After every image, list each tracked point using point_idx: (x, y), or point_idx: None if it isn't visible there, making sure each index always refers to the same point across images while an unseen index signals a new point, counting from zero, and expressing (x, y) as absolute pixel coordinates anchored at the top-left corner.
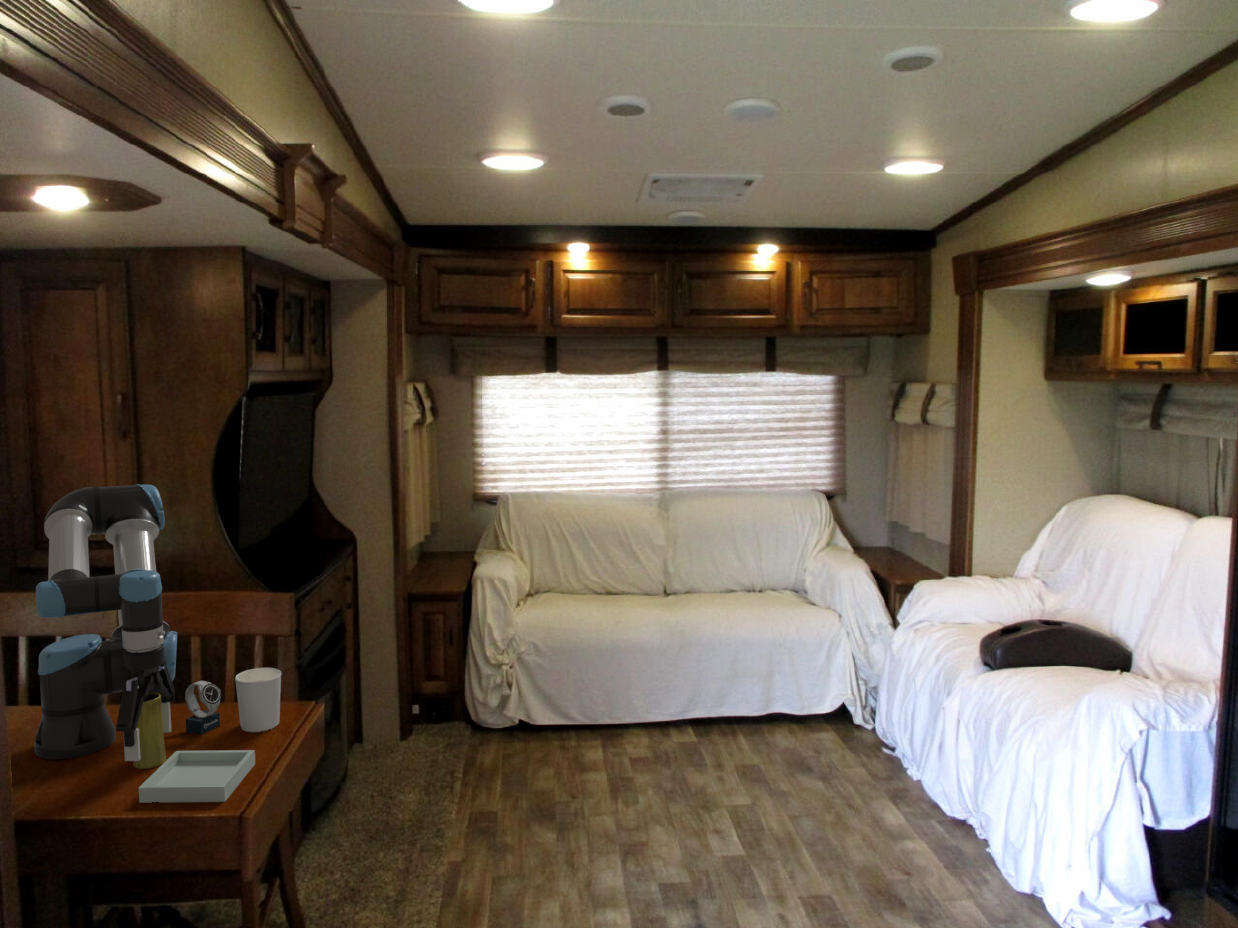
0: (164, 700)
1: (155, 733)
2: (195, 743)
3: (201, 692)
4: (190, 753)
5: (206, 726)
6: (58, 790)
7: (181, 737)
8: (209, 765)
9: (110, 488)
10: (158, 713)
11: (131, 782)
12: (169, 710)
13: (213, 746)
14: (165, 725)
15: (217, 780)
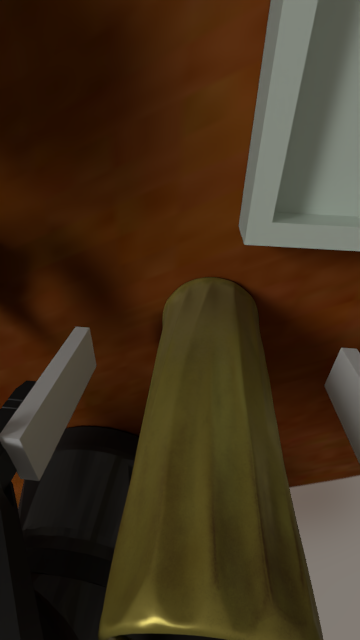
0: (1, 465)
1: (252, 372)
2: (54, 226)
3: None
4: (284, 159)
5: None
6: (334, 444)
7: (22, 291)
8: (351, 9)
9: None
10: (233, 458)
11: (350, 322)
12: (36, 397)
13: (66, 130)
14: (80, 359)
15: None
